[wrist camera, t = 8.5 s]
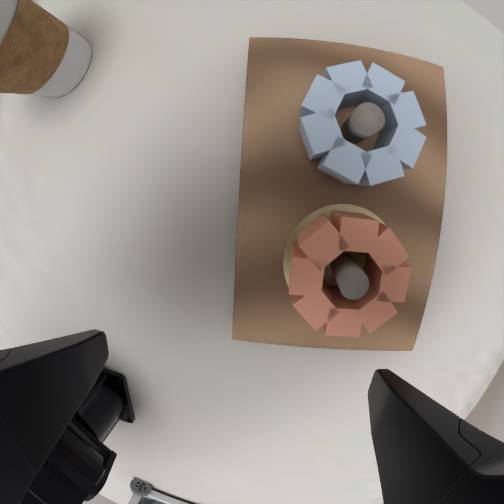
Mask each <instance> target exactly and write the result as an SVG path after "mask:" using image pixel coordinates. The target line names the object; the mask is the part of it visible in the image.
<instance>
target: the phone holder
mask: <svg viewBox="0 0 504 504" xmlns="http://www.w3.org/2000/svg"><path fill="white" fill-rule="evenodd" d="M142 484H143V485H142ZM136 487H137V488H136ZM130 488H131V490H132V492H133V493H134V494H133V496H132V498H131V500H130V502H129V504H188V503H185V502H182V501H179V500H177V499H174V498H171V497H169V496H166V495H163V494H161V493H158V492H156V491H153V490H152V486H151V484H150V483H148V482H145V481H143V480H141V479H139V478H135V479H133V480H132V481H131V483H130Z"/></svg>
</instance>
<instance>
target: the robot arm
mask: <svg viewBox="0 0 504 504" xmlns="http://www.w3.org/2000/svg"><path fill="white" fill-rule="evenodd" d="M108 354H109V352H108V346H107V339H106V335H105V333H104V332H103V331H99V330H95V329H94V330H89V331H85V332H81V333H77V334H73V335H68V336H64V337H60V338H55V339H51V340H47V341H42V342H38V343H33V344H29V345H24V346H19V347H14V348H9V349H5V350H0V504H82V503H83V501H89V500H91V499H92V498H94V497H95V496H96V495H97V494H98V493H99V492H100V490H101V489H102V488H103V486H104V485H105V482H106V480H107V478H108V475H109V473H110V470H111V468H112V465H113V463H114V460H115V458H116V456H117V454H116V453H115V452H114V451H111V450H110V449H109V448H108V447H106V446H105V445H104V444H103V442H104V440H105V439H106V438H107V436H108V435H109V433H110V432H111V431H112V429H113V428H114V426H115V425H116V424H117V422H118V421H119V419H120V420H122V421H125V422H128V423H133V421H134V420H135V419H134V415H133V411H132V407H131V403H130V399H129V394H128V390H127V386H126V381H125V378H124V376H123V375H121V374H118V373H115V372H112V371H109V370H105V369H102V368H103V366H104V364H105V362H106V360H107V358H108ZM368 402H369V413H370V424H371V434H372V440H373V445H374V450H375V455H376V460H377V465H378V471H379V476H380V482H381V488H382V494H383V501H384V504H504V443H503V442H501V441H499V440H498V439H496V438H494V437H492V436H490V435H488V434H486V433H484V432H483V431H481V430H479V429H477V428H476V427H474V426H472V425H471V424H469V423H468V422H466V421H465V420H463V419H462V418H460V419H459V416H457V415H456V414H454V413H452V412H451V411H449V410H448V409H446V408H445V407H443V406H442V405H440V404H439V403H437V402H436V401H434V400H433V399H431V398H430V397H428V396H427V395H425V394H424V393H422V392H421V391H419V390H418V389H417V388H415V387H414V386H412V385H411V384H409V383H408V382H406V381H405V380H403V379H402V378H400V377H399V376H397V375H396V374H394V373H393V372H391V371H390V370H388V369H377V370H376V371H375V373H374V375H373V378H372V381H371V384H370V387H369V390H368Z"/></svg>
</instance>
